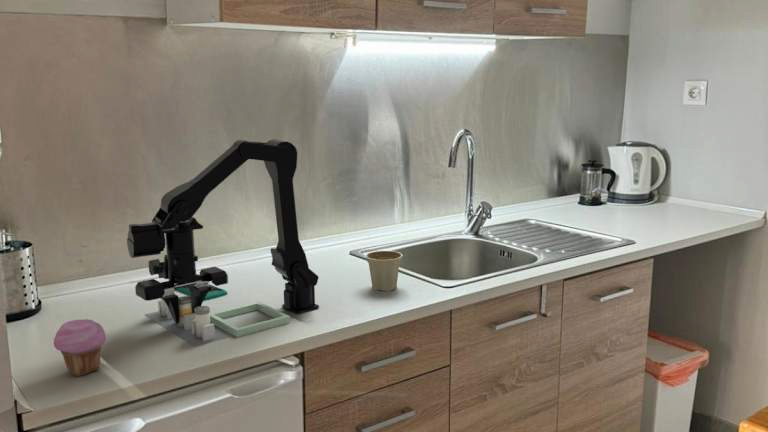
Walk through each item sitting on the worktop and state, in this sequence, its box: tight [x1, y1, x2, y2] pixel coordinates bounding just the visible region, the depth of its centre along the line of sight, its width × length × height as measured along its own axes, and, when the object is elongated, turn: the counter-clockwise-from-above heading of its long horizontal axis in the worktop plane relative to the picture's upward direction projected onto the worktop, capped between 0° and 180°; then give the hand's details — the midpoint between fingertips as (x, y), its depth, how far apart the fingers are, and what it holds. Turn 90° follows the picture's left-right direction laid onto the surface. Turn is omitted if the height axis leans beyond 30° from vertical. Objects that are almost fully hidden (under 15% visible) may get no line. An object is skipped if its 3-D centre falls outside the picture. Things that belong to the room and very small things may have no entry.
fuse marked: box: [178, 295, 192, 328], centre depth 156 cm, size 3×3×6 cm
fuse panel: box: [144, 299, 231, 347], centre depth 157 cm, size 8×25×4 cm, turn 40°
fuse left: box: [160, 298, 167, 317], centre depth 162 cm, size 3×3×6 cm
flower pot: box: [365, 250, 403, 292], centre depth 185 cm, size 9×9×9 cm
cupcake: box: [53, 318, 107, 377], centre depth 136 cm, size 9×9×10 cm
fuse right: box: [194, 305, 211, 339], centre depth 150 cm, size 3×3×6 cm
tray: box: [210, 301, 291, 338], centre depth 159 cm, size 13×13×3 cm
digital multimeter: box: [174, 284, 228, 302], centre depth 180 cm, size 7×15×3 cm, turn 44°
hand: (185, 321), depth 157 cm, fingers open, 4 cm apart
